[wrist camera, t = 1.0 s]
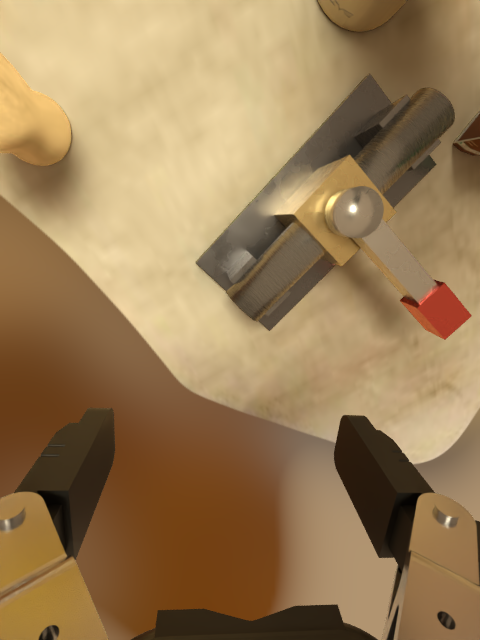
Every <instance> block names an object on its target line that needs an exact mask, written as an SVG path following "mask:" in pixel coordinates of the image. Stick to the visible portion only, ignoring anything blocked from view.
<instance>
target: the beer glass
mask: <svg viewBox="0 0 480 640" xmlns="http://www.w3.org/2000/svg"><path fill="white" fill-rule="evenodd" d="M70 144H71V127H70V123H69V120H68V118H67V116H66V114H65V113H64V111H63V110H62V108H61V107H60V106H59V105H58V104H57V103H56V102H55V101H54V100H53V99H51V98H50V97H48V96H46V95H44V94H42V93H40V92H36V91H33V90H32V89H31V88H30V87H29V86H28V84H27V83H26V82H25V80H24V79H23V78H22V76H21V75H20V74H19V73H18V71H17V70H16V69H15V68H14V67H13V65H12V64H11V63H10V62H9V61H8V60H7V59H6V58H5V57H4V56H3V54H2V53H1V52H0V153H13V154H14V155H15V156H17V157H18V158H20V159H21V160H23V161H25V162H27V163H30V164H33V165H38V166H47V165H52V164H55V163H57V162H58V161H60V160H61V159H62V158H63V157H64V156H65V155H66V153H67V152H68V150H69V147H70Z"/></svg>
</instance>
